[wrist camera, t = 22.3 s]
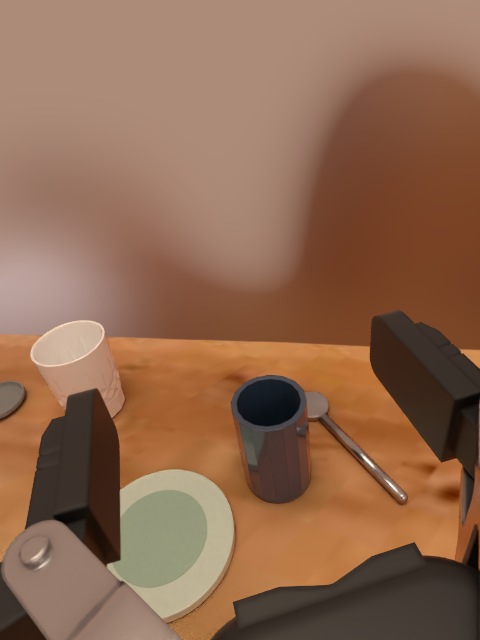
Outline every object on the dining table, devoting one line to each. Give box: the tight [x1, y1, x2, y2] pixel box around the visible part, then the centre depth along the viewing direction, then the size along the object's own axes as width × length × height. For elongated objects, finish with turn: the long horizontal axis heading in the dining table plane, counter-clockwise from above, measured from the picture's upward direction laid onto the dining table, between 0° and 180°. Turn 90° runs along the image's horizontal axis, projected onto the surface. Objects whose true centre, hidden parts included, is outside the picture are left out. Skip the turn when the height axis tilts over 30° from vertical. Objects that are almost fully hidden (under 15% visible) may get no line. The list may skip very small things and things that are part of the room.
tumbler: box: [231, 375, 311, 503], centre depth 39 cm, size 6×6×10 cm
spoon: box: [305, 392, 408, 503], centre depth 43 cm, size 4×16×1 cm, turn 29°
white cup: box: [30, 320, 125, 418], centre depth 50 cm, size 8×8×10 cm
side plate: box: [107, 469, 235, 623], centre depth 38 cm, size 13×13×1 cm
